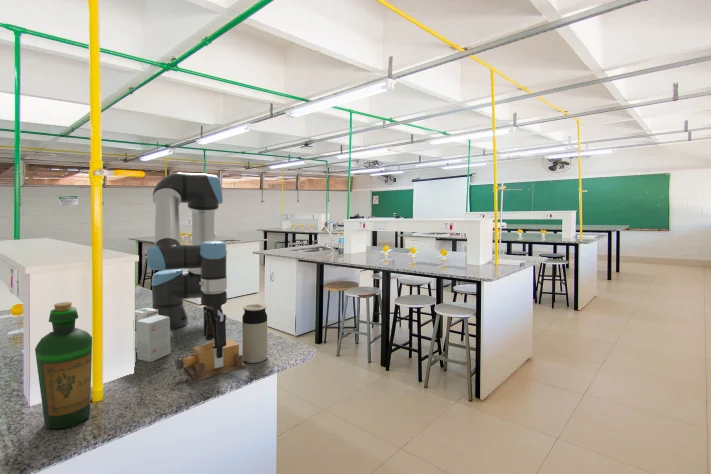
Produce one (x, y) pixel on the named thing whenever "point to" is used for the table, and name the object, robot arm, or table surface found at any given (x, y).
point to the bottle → (64, 369)
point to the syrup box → (143, 314)
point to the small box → (153, 337)
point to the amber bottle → (209, 356)
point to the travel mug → (254, 333)
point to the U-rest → (201, 374)
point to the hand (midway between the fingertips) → (214, 363)
